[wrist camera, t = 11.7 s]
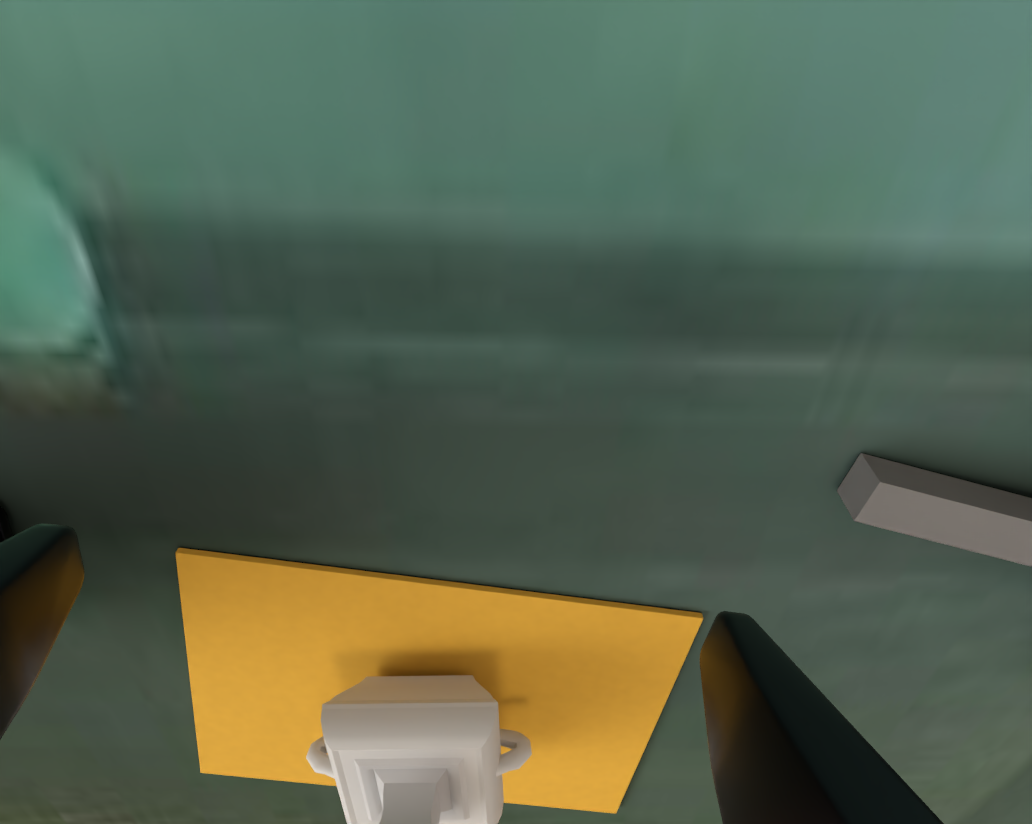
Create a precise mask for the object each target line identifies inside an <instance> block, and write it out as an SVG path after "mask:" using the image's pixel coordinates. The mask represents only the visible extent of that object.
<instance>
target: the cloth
mask: <svg viewBox="0 0 1032 824" xmlns="http://www.w3.org/2000/svg"><path fill="white" fill-rule="evenodd" d="M175 554H176V562H177V571H178V580H179V588H180V597H181V606H182V615H183V623H184V632H185V641H186V649H187V658H188V667H189V675H190V684H191V693H192V701H193V710H194V719H195V727H196V736H197V745H198V753H199V762H200V771H201V773H209V774H219V775H229V776H239V777H249V778H260V779H270V780H280V781H290V782H300V783H310V784H321V785H331V786H337V785H336V781H335V779H334V778H332V777H330V776H327V775H325V774H320V773H316V772H314V770H313V768H312V767H311V765H310V763H309V762H308V760H307V759H306V756H307V753H308V751H309V748H310V746H311V744H312V743H313V742H314V741H316V740H317V739H319V738H320V737H322V736H323V732H322V726H321V713H322V704H324V703H326V702H328V701H330V700H331V699H332V698H334V697H335V696H336V695H338V694H340V693H342V692H343V691H345V690H347V689H349V688H351V687H353V686H355V685H357V684H358V683H360V682H361V681H362V680H363V679H365V678H366V677H376V676H448V675H473V676H474V678H475V680H476V681H477V682H478V683H479V684H480V685H481V686H482V687H483V688H485V689H486V690H487V691H488V692H489V693H490V694H491V696H492V697H493V699H495V700H496V701H497V702H498V711H499V728H500V729H507V730H513V731H517V732H520V733H522V734H523V735H524V736H526V737H527V738H528V739H529V740H530V743H531V751H532V755H531V756H530V757H529V758H528V760H527V761H526V762H525V763H524V764H523V765H522V766H521V767H520V769H516V770H512V771H508V772H506V773H504V774H502V779H503V796H504V803H514V804H524V805H534V806H545V807H555V808H565V809H575V810H585V811H596V812H606V813H616V812H617V810H618V808H619V805H620V803H621V801H622V799H623V797H624V794H625V792H626V790H627V788H628V785H629V783H630V781H631V779H632V776H633V774H634V772H635V770H636V768H637V765H638V763H639V761H640V759H641V756H642V754H643V752H644V750H645V748H646V745H647V743H648V741H649V739H650V736H651V734H652V732H653V730H654V727H655V725H656V723H657V721H658V719H659V716H660V714H661V712H662V710H663V707H664V705H665V703H666V701H667V698H668V696H669V694H670V692H671V690H672V687H673V685H674V683H675V681H676V678H677V676H678V674H679V672H680V669H681V667H682V665H683V663H684V661H685V658H686V656H687V654H688V652H689V649H690V647H691V645H692V643H693V640H694V638H695V636H696V634H697V632H698V629H699V627H700V625H701V623H702V620H703V616H702V613H698V612H690V611H682V610H674V609H666V608H658V607H650V606H642V605H634V604H626V603H618V602H610V601H602V600H594V599H586V598H578V597H570V596H562V595H554V594H546V593H538V592H530V591H522V590H514V589H506V588H498V587H490V586H482V585H474V584H466V583H458V582H450V581H442V580H434V579H426V578H418V577H410V576H402V575H394V574H386V573H378V572H370V571H362V570H354V569H346V568H338V567H330V566H322V565H315V564H307V563H299V562H291V561H283V560H275V559H267V558H259V557H251V556H243V555H235V554H227V553H219V552H211V551H203V550H195V549H187V548H178V549H177V551H176V553H175ZM510 750H512V749H510V748H507V747H503V746H501V754H504V753H506V752H508V751H510ZM327 754H328V753H327Z"/></svg>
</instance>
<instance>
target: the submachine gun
mask: <svg viewBox="0 0 1032 824" xmlns="http://www.w3.org/2000/svg"><path fill="white" fill-rule="evenodd" d="M837 492H838V494H839V495H840V497H841V499H842V501H843V502H844V504H845V506H846V508H847V510H848V511H849V513H850V515H851V517H852V518H853V520H854V521H856V522H860V523H864V524H868V525H872V526H876V527H880V528H883V529H887V530H891V531H895V532H899V533H903V534H907V535H911V536H915V537H919V538H922V539H926V540H930V541H934V542H938V543H942V544H946V545H950V546H954V547H958V548H961V549H965V550H969V551H973V552H977V553H981V554H985V555H989V556H993V557H997V558H1000V559H1004V560H1008V561H1012V562H1016V563H1020V564H1024V565H1028V566H1032V498H1029V497H1025V496H1021V495H1017V494H1014V493H1010V492H1006V491H1002V490H999V489H995V488H991V487H987V486H983V485H980V484H976V483H972V482H968V481H965V480H961V479H957V478H953V477H949V476H946V475H942V474H938V473H934V472H931V471H927V470H923V469H919V468H916V467H912V466H908V465H904V464H900V463H897V462H893V461H889V460H885V459H882V458H878V457H874V456H870V455H866V454H863V453H860V455H859V457H858V458H857V460H856V461H855V463H854V464H853V466H852V468H851V469H850V471H849V472H848V474H847V475H846V477H845V479H844V480H843V482H842V483H841V485H840V486H839V488H838V490H837Z"/></svg>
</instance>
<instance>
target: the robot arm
mask: <svg viewBox="0 0 1032 824" xmlns="http://www.w3.org/2000/svg"><path fill="white" fill-rule="evenodd" d="M83 580H84V567H83V562H82V557H81V552H80V547H79V543H78V538H77V534H76V532H75V531H74V529H73V528H71V527H69V526H61V525H53V524H46V523H43V524H37V525H35V526H32V527H30V528H28V529H26V530H24V531H22V532H20V533H18V534H16V535H14V536H12V532H11V529H10V525H9V521H8V518H7V514H6V512H5V510H4V509H3V508H2V507H1V506H0V739H1V738H2V736H3V734H4V733H5V731H6V730H7V728H8V726H9V725H10V723H11V722H12V720H13V718H14V717H15V715H16V714H17V712H18V711H19V709H20V707H21V706H22V704H23V702H24V700H25V699H26V697H27V695H28V694H29V692H30V690H31V688H32V686H33V684H34V683H35V681H36V679H37V677H38V675H39V673H40V671H41V669H42V667H43V665H44V663H45V661H46V659H47V657H48V655H49V652H50V650H51V648H52V646H53V644H54V642H55V640H56V638H57V636H58V634H59V632H60V630H61V628H62V626H63V624H64V622H65V620H66V618H67V616H68V614H69V612H70V610H71V608H72V606H73V604H74V602H75V599H76V597H77V595H78V593H79V591H80V589H81V587H82V584H83ZM700 670H701V679H702V689H703V698H704V708H705V717H706V726H707V736H708V745H709V754H710V761H711V768H712V774H713V779H714V784H715V789H716V794H717V798H718V803H719V807H720V812H721V817H722V821H723V824H944V823H943V822H942V821H941V820H940V819H939V818H938V817H937V816H936V815H935V814H934V813H933V812H932V811H931V810H930V808H929V807H928V806H927V805H926V804H925V803H924V802H923V801H922V800H921V799H920V798H919V797H918V796H917V794H916V793H915V792H914V791H913V790H912V789H911V788H910V787H909V786H908V785H907V784H906V783H905V782H904V781H903V779H902V778H901V777H900V776H899V775H898V774H897V773H896V772H895V771H894V770H893V769H892V768H891V767H890V765H889V764H888V763H887V762H886V761H885V760H884V759H883V758H882V757H881V756H880V755H879V754H878V753H877V752H876V750H875V749H874V748H873V747H872V746H871V745H870V744H869V743H868V742H867V741H866V740H865V739H864V738H863V736H862V735H861V734H860V733H859V732H858V731H857V730H856V729H855V728H854V727H853V726H852V725H851V724H850V723H849V721H848V720H847V719H846V718H845V717H844V716H843V715H842V714H841V713H840V712H839V711H838V710H837V709H836V707H835V706H834V705H833V704H832V703H831V702H830V701H829V700H828V699H827V698H826V697H825V696H824V695H823V694H822V692H821V691H820V690H819V689H818V688H817V687H816V686H815V685H814V684H813V683H812V682H811V681H810V680H809V678H808V677H807V676H806V675H805V674H804V673H803V672H802V671H801V670H800V669H799V668H798V667H797V666H796V665H795V663H794V662H793V661H792V660H791V659H790V658H789V657H788V656H787V655H786V654H785V653H784V652H783V651H782V649H781V648H780V647H779V646H778V645H777V644H776V643H775V642H774V641H773V640H772V639H771V638H770V637H769V636H768V634H767V633H766V632H765V631H764V630H763V629H762V628H761V627H760V626H759V625H758V624H757V623H756V622H755V620H754V619H753V618H751V617H750V616H749V615H747V614H743V613H735V612H728V611H723V612H720V613H719V614H718V615H717V616H716V618H715V620H714V622H713V624H712V627H711V629H710V631H709V633H708V635H707V637H706V639H705V642H704V644H703V646H702V649H701V653H700Z"/></svg>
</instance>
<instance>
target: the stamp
mask: <svg viewBox="0 0 1032 824" xmlns="http://www.w3.org/2000/svg"><path fill="white" fill-rule="evenodd" d="M321 726H322V732H323V736H322V737H320V738H319V739H317V740H316V741H314V742H313V743H312V744H311V746H310V748H309V751H308V753H307V756H306V759H307V760H308V762H309V763H310V765H311V767H312V768H313V770H314V772H316V773H320V774H325V775H327V776H330V777H332V778H334V779H335V781H336V785H337V788H338V792H339V796H340V799H341V803H342V806H343V810H344V814H345V817H346V821H347V824H497V823H498V821H499V819H500V817H501V815H502V809H503V803H504V796H503V779H502V774H504V773H506V772H508V771H512V770H516V769H520V767H521V766H522V765H523V764H524V763H525V762H526V761H527V760H528V758H529V757H530V756H531V755H532V751H531V743H530V740H529V739H528V738H527V737H526V736H524V735H523V734H522V733H520V732H517V731H513V730H507V729H500V728H499V711H498V702H497V701H496V700H495V699H493V697H492V696H491V694H490V693H489V692H488V691H487V690H486V689H485V688H483V687H482V686H481V685H480V684H479V683H478V682H477V681H476V680H475V678H474V676H473V675H448V676H376V677H366V678H365V679H363V680H362V681H361V682H360V683H358V684H357V685H355V686H353V687H351V688H349V689H347V690H345V691H343V692H342V693H340V694H338V695H336V696H335V697H334V698H332V699H331V700H330V701H328V702H326V703H324V704H322V713H321ZM501 746H503V747H507V748H510V749H512V750H510V751H508V752H506V753H504V754H501ZM327 753H328V754H327Z"/></svg>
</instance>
